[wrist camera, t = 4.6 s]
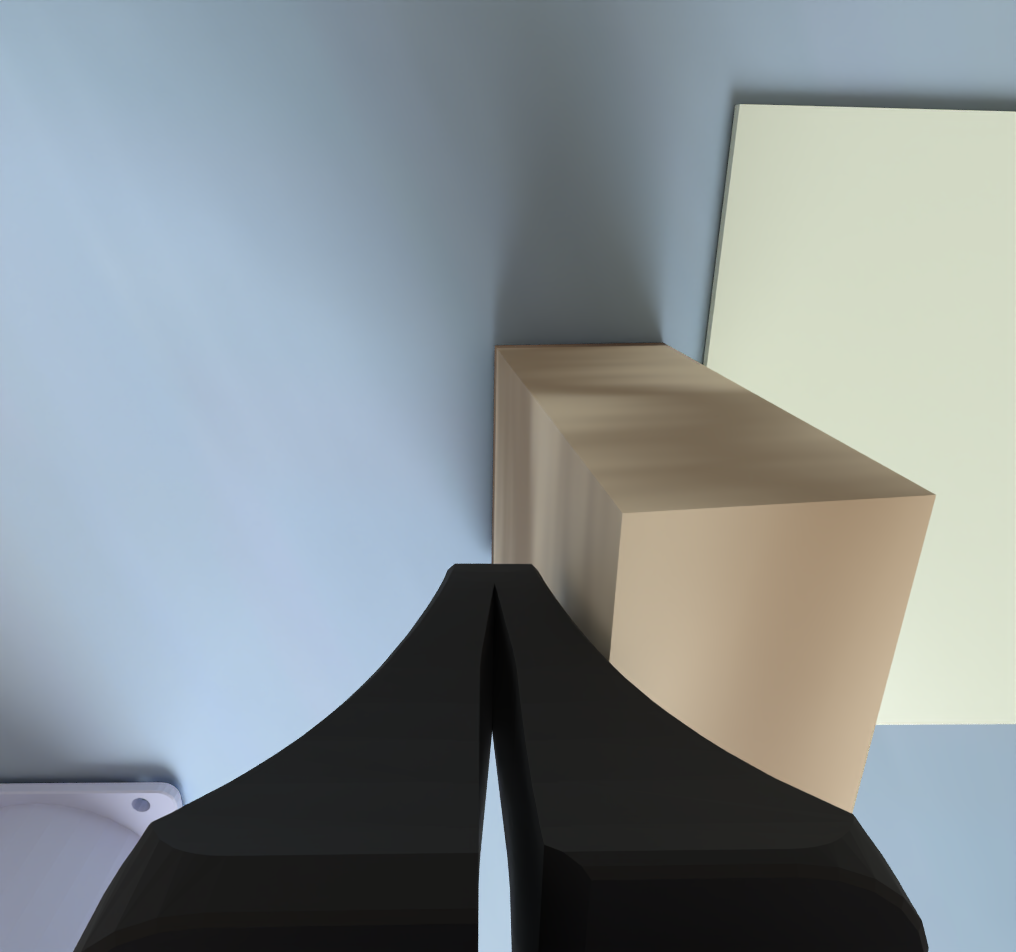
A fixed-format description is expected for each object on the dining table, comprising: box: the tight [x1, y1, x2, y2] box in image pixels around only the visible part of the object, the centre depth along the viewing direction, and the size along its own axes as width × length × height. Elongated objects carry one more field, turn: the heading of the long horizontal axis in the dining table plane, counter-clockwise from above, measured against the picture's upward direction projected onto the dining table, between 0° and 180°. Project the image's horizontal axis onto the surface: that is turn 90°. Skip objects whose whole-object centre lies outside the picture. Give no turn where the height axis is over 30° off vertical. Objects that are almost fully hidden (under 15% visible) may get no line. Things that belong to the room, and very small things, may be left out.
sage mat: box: [703, 104, 1016, 725], centre depth 18 cm, size 14×16×1 cm
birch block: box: [492, 343, 936, 813], centre depth 14 cm, size 4×6×9 cm, turn 178°
